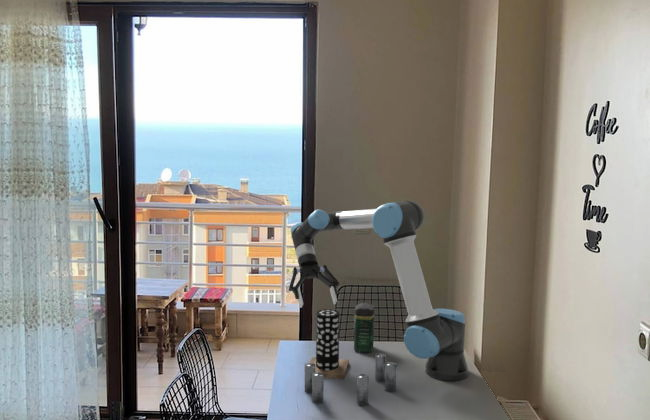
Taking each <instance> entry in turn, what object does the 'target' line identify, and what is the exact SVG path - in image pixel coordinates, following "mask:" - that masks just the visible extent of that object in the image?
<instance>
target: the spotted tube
mask: <svg viewBox="0 0 650 420" xmlns="http://www.w3.org/2000/svg"><path fill="white" fill-rule="evenodd" d="M315 316H316V318H315V320H316V321H315V323H316V324H315V325H316V326H315V327H316V329H315V331H316V332H315V333H316V334H315V344H316V345H315V357H316V367H317V368H319V369H321V370H334V369H336V368H338V367H339V359H340V312H339V311H338V310H336V309H331V308H330V309H328V308H327V309H319V310H317V311H316V315H315Z"/></svg>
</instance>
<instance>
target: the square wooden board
mask: <svg viewBox="0 0 650 420" xmlns="http://www.w3.org/2000/svg"><path fill="white" fill-rule="evenodd" d="M309 363H314V364H315V372H321V373H323V374H324V379H335V380H344V379H345V376H346V374H347V373H346V372H347V370H348V367H349V364H350V360H349V359H341V358H339V367H338V368H336V369H334V370H321V369H319V368H317V367H316V356H315V357H314V356H313V357H311V359H310V361H309Z"/></svg>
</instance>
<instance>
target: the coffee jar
mask: <svg viewBox="0 0 650 420" xmlns="http://www.w3.org/2000/svg"><path fill="white" fill-rule="evenodd" d="M353 324H354V326H353V327H354V330H353V331H354V333H353V350H354V352H357V353H362V354H366V353H372V351H373V349H374V334H375V307H374V305H372V304H371V303H370V302H360V303H358V304H357V305H356V306H355V307H354V323H353Z"/></svg>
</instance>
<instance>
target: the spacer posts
mask: <svg viewBox="0 0 650 420" xmlns="http://www.w3.org/2000/svg"><path fill="white" fill-rule="evenodd" d="M374 361H375V362H374V363H375V369H374V371H375V372H374V380H375V382H376V383H377V382H378V383H384V385H385V386H384V387H385V389H384V390H385V391H386V392H388V393H394V392H396V391H397V363H396V362H393V361H388V362H386V361H387V355H386V354H385V353H381V352H379V353H376V354H375V360H374ZM356 376H357V377H356V405H357V406H359V407H367V406H369V379H370V377H369V375H368V374H364V373H359V374H357V375H356ZM324 380H325V378H324V374H323V373H321V372H315V364H314V363H310V362H306V363H305V364H304V392H305V393H307V394H311V402H312V403H313V404H315V405H320V404H323V403H324V385H325V383H324Z"/></svg>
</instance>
